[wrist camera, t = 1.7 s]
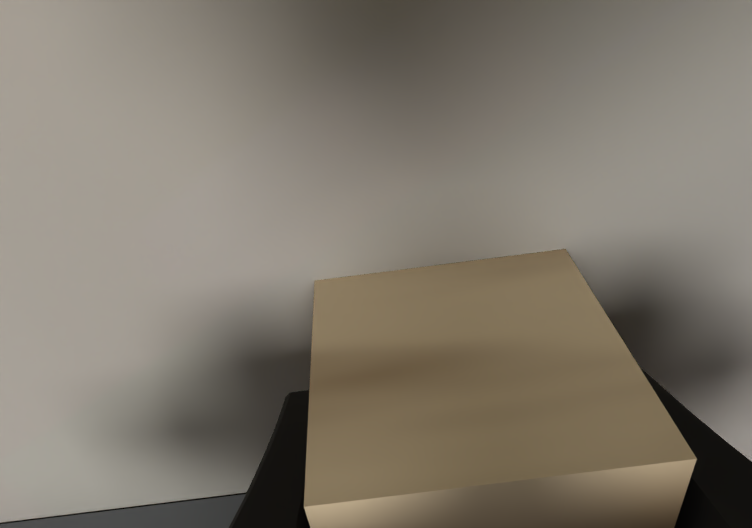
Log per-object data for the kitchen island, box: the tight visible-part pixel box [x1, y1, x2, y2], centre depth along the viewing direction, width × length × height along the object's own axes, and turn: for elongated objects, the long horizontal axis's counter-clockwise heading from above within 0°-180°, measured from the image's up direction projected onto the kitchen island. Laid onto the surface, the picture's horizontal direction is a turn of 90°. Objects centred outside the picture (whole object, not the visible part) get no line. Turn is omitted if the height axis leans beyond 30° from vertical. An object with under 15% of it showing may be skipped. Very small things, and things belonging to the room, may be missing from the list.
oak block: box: [304, 249, 697, 528], centre depth 11 cm, size 5×5×5 cm
